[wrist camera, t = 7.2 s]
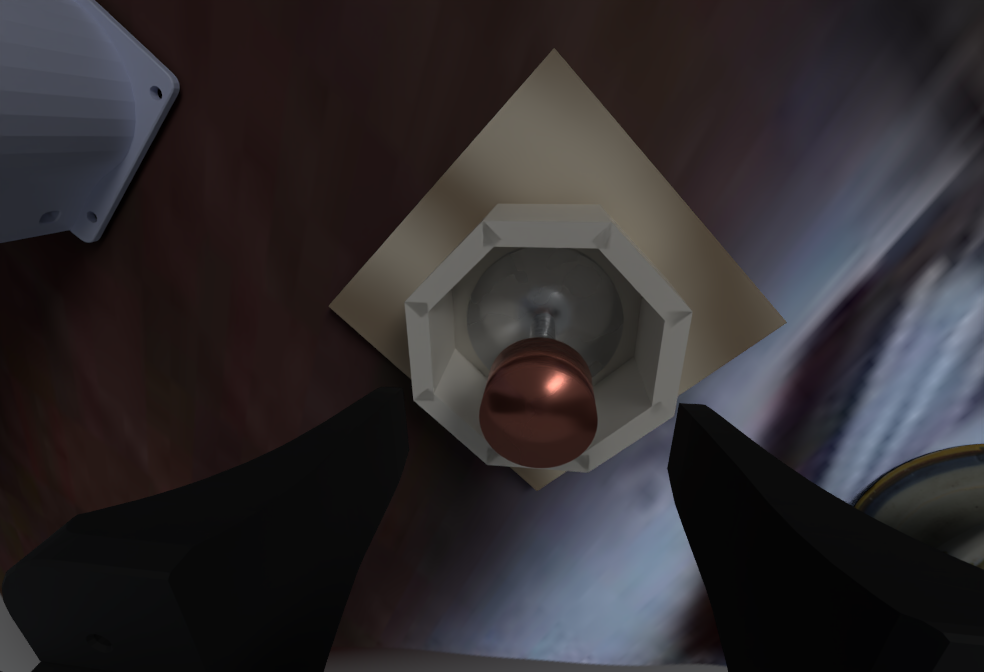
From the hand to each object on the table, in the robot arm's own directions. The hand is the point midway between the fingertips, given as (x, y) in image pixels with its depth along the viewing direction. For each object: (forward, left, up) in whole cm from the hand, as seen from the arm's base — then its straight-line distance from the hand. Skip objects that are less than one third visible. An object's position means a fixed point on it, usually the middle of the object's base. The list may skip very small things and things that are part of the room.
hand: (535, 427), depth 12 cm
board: (0, 0, -9) cm, 9 cm away
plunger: (0, 0, -8) cm, 8 cm away
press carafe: (0, 0, -9) cm, 9 cm away
